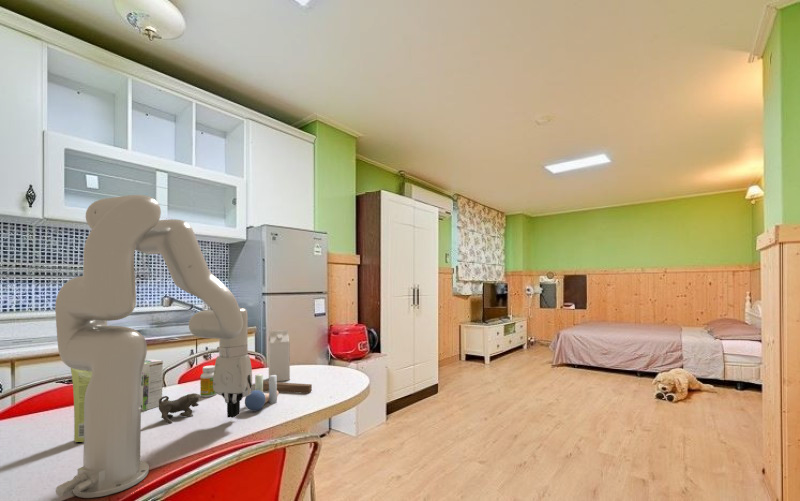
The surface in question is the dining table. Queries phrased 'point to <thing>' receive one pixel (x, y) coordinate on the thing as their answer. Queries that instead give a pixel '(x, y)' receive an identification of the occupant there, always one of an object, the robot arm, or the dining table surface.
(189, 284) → the robot arm
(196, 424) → the dining table surface
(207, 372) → the supplement bottle
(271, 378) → the back pin right
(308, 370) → the dining table surface
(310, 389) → the brown bar
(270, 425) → the dining table surface
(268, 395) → the front pin
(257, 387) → the back pin left
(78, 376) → the tube
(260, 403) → the ball
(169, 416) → the dog figurine
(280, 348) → the milk carton
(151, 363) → the syrup box
